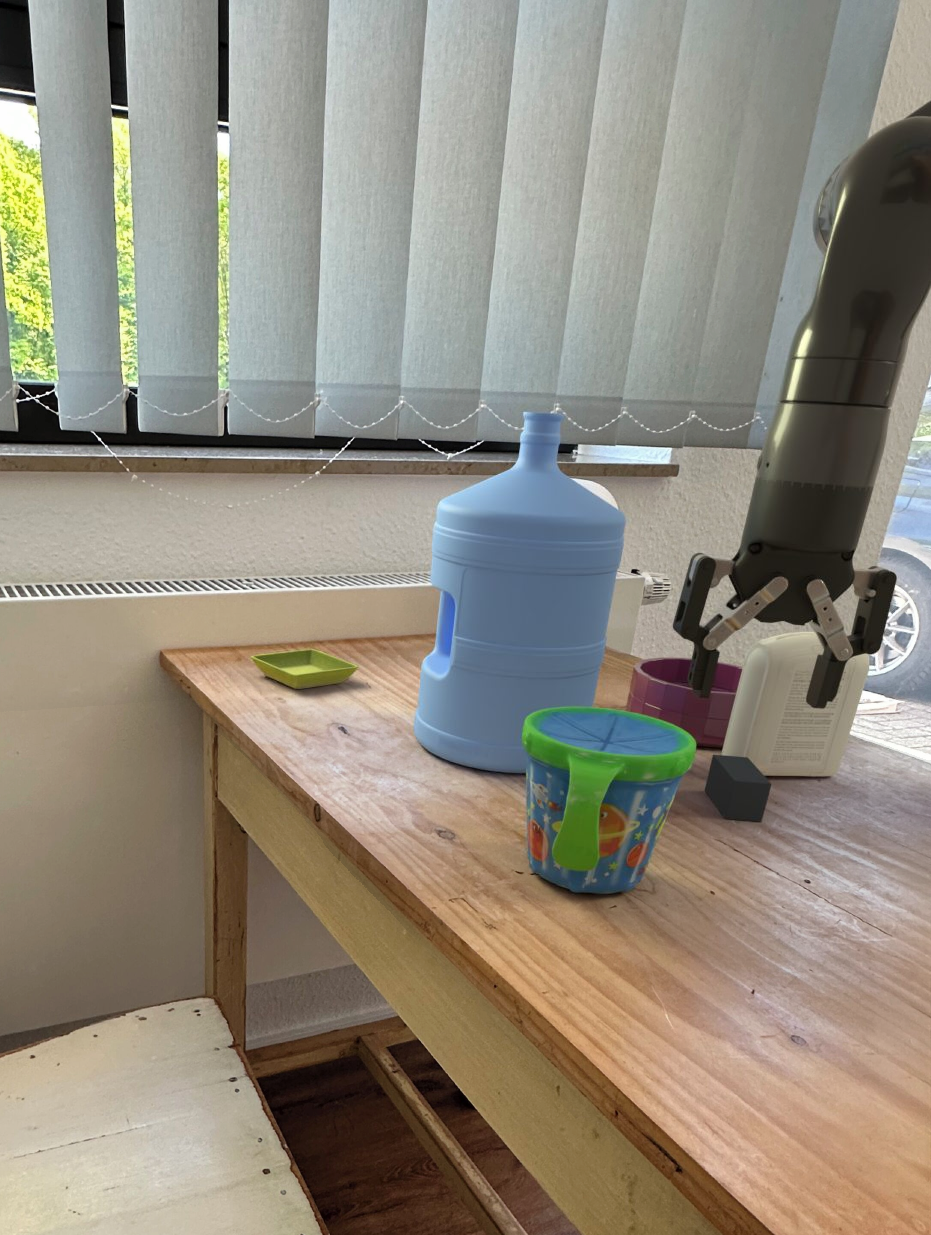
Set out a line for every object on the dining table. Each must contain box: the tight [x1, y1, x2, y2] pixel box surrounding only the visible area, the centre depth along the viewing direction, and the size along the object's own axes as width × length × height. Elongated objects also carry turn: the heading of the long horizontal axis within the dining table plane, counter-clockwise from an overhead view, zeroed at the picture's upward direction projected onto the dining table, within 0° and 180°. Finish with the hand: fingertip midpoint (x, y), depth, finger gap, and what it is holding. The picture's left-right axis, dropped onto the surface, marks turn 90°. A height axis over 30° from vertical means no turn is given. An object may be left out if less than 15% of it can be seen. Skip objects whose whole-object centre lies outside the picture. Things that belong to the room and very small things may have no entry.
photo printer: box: [721, 631, 871, 777], centre depth 82 cm, size 10×4×12 cm, turn 98°
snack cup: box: [522, 706, 697, 895], centre depth 62 cm, size 16×10×10 cm
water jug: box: [413, 411, 627, 774], centre depth 81 cm, size 16×16×28 cm
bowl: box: [625, 657, 743, 749], centre depth 94 cm, size 13×13×6 cm
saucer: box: [250, 648, 359, 690], centre depth 104 cm, size 9×9×2 cm
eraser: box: [704, 754, 772, 823], centre depth 76 cm, size 6×3×3 cm, turn 174°
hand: (757, 700), depth 73 cm, fingers open, 8 cm apart
